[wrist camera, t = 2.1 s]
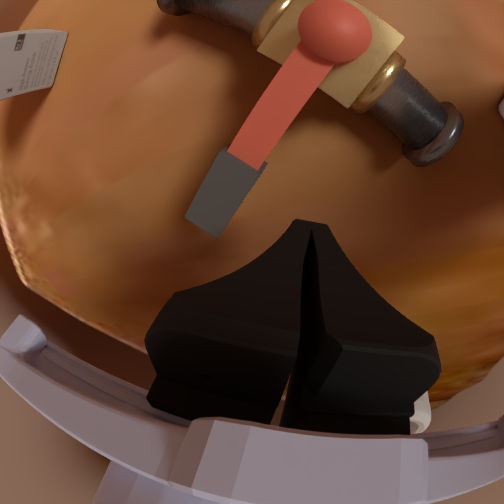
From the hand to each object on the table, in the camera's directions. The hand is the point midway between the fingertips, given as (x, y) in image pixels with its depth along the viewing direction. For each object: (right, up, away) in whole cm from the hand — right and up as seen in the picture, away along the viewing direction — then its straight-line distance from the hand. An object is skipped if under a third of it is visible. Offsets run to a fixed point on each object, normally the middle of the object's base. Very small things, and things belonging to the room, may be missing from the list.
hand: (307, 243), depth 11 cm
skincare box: (-21, +18, +4) cm, 28 cm away
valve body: (+2, +12, +2) cm, 12 cm away
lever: (-1, +6, +1) cm, 6 cm away
